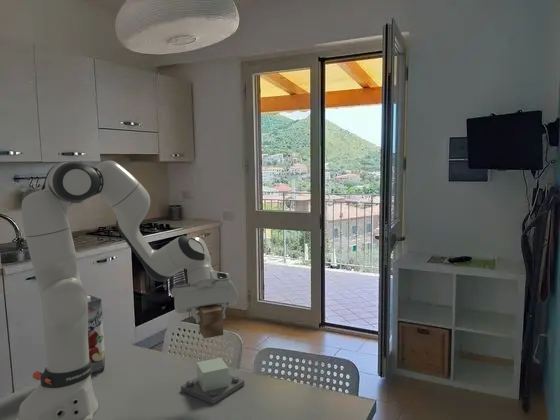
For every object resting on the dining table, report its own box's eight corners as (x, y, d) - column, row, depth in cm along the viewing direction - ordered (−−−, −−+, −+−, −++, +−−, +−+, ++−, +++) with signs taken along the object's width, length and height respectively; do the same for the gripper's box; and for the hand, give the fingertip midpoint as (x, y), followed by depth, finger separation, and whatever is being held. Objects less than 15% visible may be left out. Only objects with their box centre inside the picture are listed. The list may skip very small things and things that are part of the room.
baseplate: (213, 404, 129) (212, 380, 128) (180, 390, 137) (180, 367, 137) (244, 384, 140) (243, 362, 140) (212, 373, 149) (212, 351, 148)
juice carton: (66, 374, 149) (60, 297, 147) (95, 363, 157) (91, 289, 155) (78, 382, 144) (73, 302, 141) (108, 370, 152) (104, 294, 149)
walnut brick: (204, 338, 133) (203, 312, 132) (199, 331, 139) (198, 307, 138) (223, 335, 136) (222, 309, 135) (218, 328, 141) (217, 304, 140)
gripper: (171, 280, 138) (178, 321, 130) (233, 273, 146) (244, 310, 138) (169, 291, 142) (176, 330, 134) (230, 283, 150) (240, 319, 142)
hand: (211, 320), depth 136 cm, fingers closed on walnut brick, 6 cm apart
